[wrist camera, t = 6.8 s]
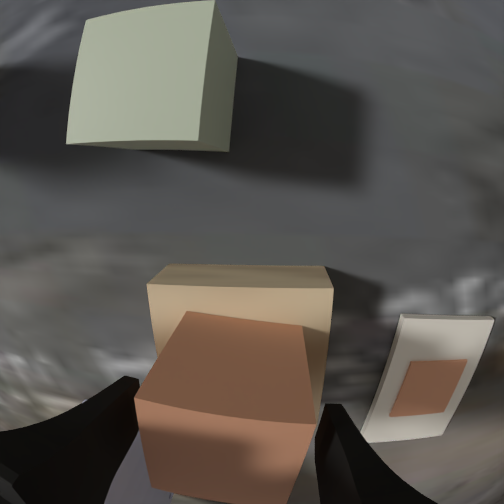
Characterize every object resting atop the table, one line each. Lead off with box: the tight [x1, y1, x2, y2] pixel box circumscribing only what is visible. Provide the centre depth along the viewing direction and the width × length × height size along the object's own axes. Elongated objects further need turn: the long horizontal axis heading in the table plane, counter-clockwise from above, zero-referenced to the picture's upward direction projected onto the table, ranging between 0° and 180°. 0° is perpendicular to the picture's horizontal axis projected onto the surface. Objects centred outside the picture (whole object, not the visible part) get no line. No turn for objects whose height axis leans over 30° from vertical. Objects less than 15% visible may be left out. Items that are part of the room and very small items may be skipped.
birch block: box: [147, 264, 334, 426], centre depth 16 cm, size 8×8×4 cm
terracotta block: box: [134, 311, 316, 504], centre depth 11 cm, size 5×5×6 cm
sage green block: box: [66, 0, 238, 152], centre depth 11 cm, size 5×5×6 cm
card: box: [360, 314, 494, 443], centre depth 17 cm, size 10×7×1 cm
